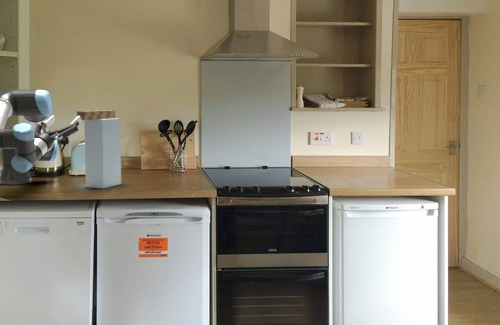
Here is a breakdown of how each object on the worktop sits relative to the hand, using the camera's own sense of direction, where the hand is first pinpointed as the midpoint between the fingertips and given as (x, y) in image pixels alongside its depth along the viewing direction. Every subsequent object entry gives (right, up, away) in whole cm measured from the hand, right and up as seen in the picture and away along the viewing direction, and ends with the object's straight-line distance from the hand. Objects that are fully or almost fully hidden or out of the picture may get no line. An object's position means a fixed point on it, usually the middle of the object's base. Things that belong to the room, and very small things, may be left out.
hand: (67, 117), depth 257 cm
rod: (+7, +1, +23) cm, 24 cm away
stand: (+8, -31, +31) cm, 45 cm away
